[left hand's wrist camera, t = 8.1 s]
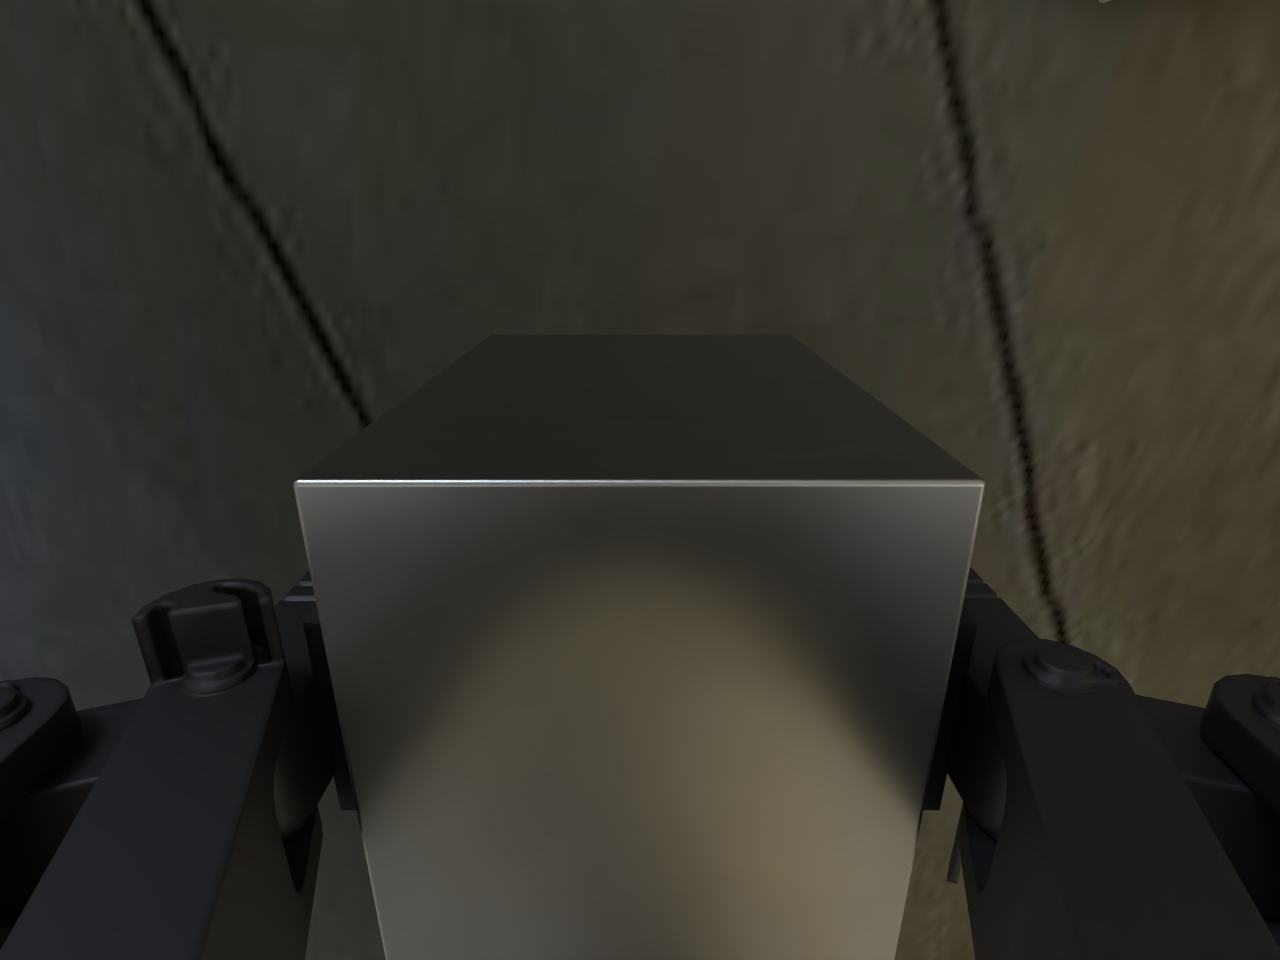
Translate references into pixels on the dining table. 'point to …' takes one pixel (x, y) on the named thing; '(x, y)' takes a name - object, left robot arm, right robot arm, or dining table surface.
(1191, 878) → the left robot arm
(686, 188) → the dining table surface
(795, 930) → the bar
